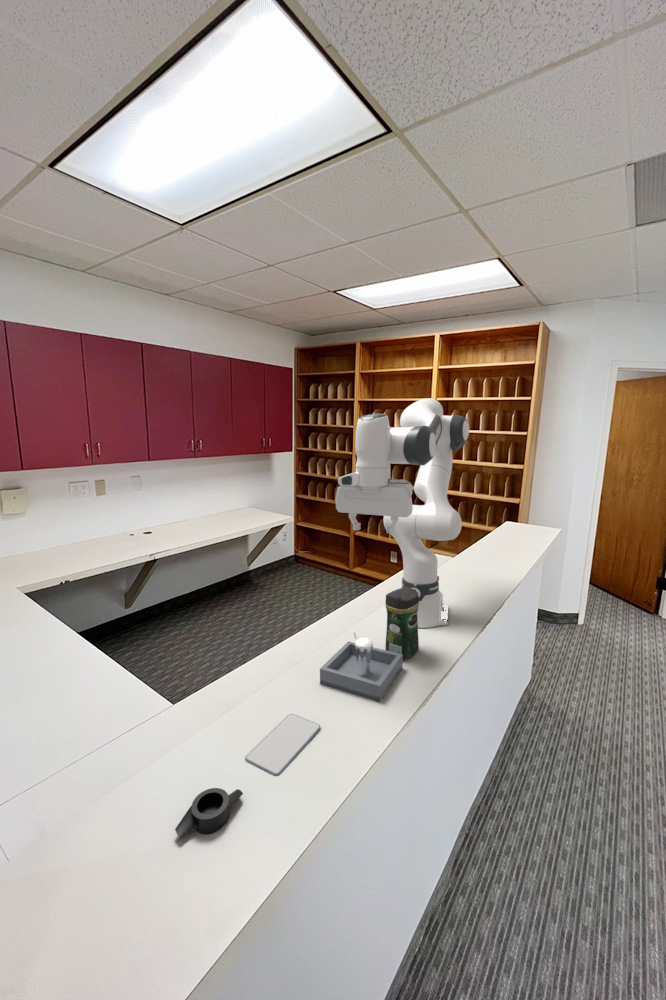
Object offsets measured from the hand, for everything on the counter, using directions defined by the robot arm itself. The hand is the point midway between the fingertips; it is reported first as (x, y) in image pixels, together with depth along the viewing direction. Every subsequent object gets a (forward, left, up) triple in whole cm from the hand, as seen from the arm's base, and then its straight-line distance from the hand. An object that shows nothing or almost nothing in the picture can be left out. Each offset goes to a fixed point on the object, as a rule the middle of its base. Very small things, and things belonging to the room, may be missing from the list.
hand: (373, 531), depth 107 cm
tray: (+7, 0, -37) cm, 37 cm away
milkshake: (+7, 0, -36) cm, 36 cm away
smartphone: (+36, -4, -37) cm, 52 cm away
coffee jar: (-9, +5, -37) cm, 38 cm away
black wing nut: (+55, -5, -37) cm, 67 cm away
